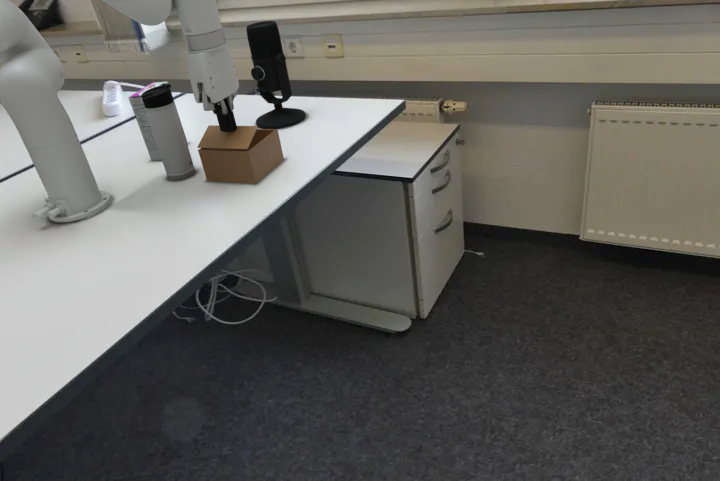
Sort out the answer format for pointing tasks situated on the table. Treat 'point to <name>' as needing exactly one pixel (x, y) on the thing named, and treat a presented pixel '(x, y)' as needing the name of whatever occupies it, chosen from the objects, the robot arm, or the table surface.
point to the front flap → (228, 138)
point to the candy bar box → (146, 121)
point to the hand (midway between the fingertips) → (229, 130)
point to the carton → (244, 159)
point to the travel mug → (168, 132)
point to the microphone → (271, 75)
